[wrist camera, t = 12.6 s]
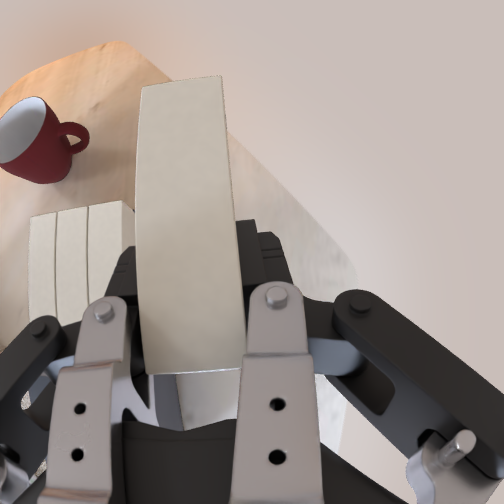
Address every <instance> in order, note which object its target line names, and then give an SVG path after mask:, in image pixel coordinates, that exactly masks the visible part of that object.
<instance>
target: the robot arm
mask: <svg viewBox="0 0 504 504" xmlns="http://www.w3.org/2000/svg"><path fill="white" fill-rule="evenodd" d="M235 222H236V232H237V242H238V252H239V262H240V271H241V281H242V290H243V299H244V309H245V318H246V327H247V346H246V354H243V357H242V365H241V377H240V389H239V400H238V412H237V419H227V420H223V421H220V422H216V423H213V424H209V425H206V426H202V427H198V428H194V429H191V430H187V431H175V430H171V429H166V428H162V427H159V424H158V421H157V418H156V411H155V396H154V378H153V375H148V374H146V371H145V363H144V355H143V346H142V337H141V327H140V316H139V304H138V289H137V272H136V245H135V246H129V247H128V248H127V249H126V250H125V251H124V252H123V253H122V254H121V255H120V257H119V259H118V261H117V264H116V265H117V266H115V269H114V271H113V274H112V276H111V279H110V281H109V284H108V286H107V289H106V292H105V294H104V297H103V298H100V299H98V300H96V301H94V302H93V303H91V304H90V305H89V306H88V307H87V308H86V310H85V311H84V314H83V317H82V320H81V321H78V322H75V323H71V324H68V325H65V326H61V324H60V323H59V321H58V319H57V318H56V317H54V316H52V315H44V316H40V317H38V318H36V319H34V320H33V321H32V322H30V323H29V324H28V325H27V326H26V327H25V328H24V329H23V331H22V332H21V333H20V334H19V335H18V336H17V337H16V338H15V339H14V340H13V341H12V342H11V343H10V344H9V345H8V347H7V348H6V349H5V350H4V351H3V352H2V353H1V354H0V504H408V503H407V502H405V501H403V500H402V499H400V498H399V497H397V496H396V495H394V494H393V493H391V492H389V491H388V490H387V489H385V488H384V487H382V486H381V485H379V484H378V483H376V482H375V481H373V480H372V479H370V478H369V477H367V476H366V475H364V474H363V473H362V472H360V471H359V470H357V469H356V468H355V467H353V466H352V465H350V464H349V463H348V462H346V461H345V460H344V459H342V458H341V457H340V456H338V455H337V454H336V453H334V452H333V451H332V450H330V449H329V448H328V447H326V446H325V445H324V444H322V443H321V442H320V436H319V422H318V409H317V397H316V386H315V375H314V373H316V374H324V375H325V377H326V378H327V380H328V381H329V382H330V383H331V384H332V385H333V386H334V387H335V388H336V389H337V390H338V391H339V392H340V393H341V394H342V395H343V396H344V397H345V398H346V399H347V400H348V401H349V402H350V403H351V404H352V405H353V406H354V407H355V408H356V409H357V410H358V411H359V412H360V413H361V414H362V415H363V416H364V417H365V418H367V420H368V421H369V422H370V423H371V424H372V425H373V426H375V427H376V428H377V429H378V430H379V431H380V432H381V433H382V434H383V435H384V436H385V437H386V438H387V439H388V440H389V441H390V442H391V443H392V444H393V445H394V446H395V447H396V448H397V449H398V450H399V451H400V452H401V453H403V454H404V455H405V456H406V457H407V458H408V459H409V460H408V463H407V466H406V478H407V481H408V483H409V484H410V486H411V487H412V488H413V490H414V491H415V494H416V497H417V504H485V503H486V502H487V501H488V499H489V498H490V496H491V495H492V494H493V492H494V491H495V489H496V488H497V486H498V485H499V483H500V482H501V481H502V480H503V479H504V394H503V393H501V392H500V391H499V390H498V389H497V388H495V387H494V386H493V385H492V384H490V383H489V382H488V381H487V380H486V379H484V378H483V377H482V376H481V375H479V374H478V373H477V372H476V371H474V370H473V369H472V368H471V367H469V366H468V365H467V364H466V363H464V362H463V361H462V360H461V359H459V358H458V357H457V356H455V355H454V354H453V353H452V352H450V351H449V350H448V349H447V348H445V347H444V346H442V345H441V344H440V343H439V342H437V341H436V340H435V339H434V338H432V337H431V336H430V335H428V334H427V333H426V332H425V331H423V330H422V329H420V328H419V327H418V326H417V325H415V324H414V323H413V322H411V321H410V320H409V319H407V318H406V317H404V316H403V315H402V314H401V313H399V312H398V311H397V310H395V309H394V308H392V307H391V306H390V305H389V304H387V303H386V302H385V301H383V300H382V299H381V298H379V297H378V296H376V295H375V294H373V293H371V292H368V291H364V290H358V289H356V290H348V291H345V292H343V293H341V294H340V295H338V296H337V297H336V299H335V301H334V303H332V302H322V301H315V300H312V299H309V298H306V297H305V296H303V295H302V293H301V291H300V290H299V289H298V288H297V287H296V286H294V284H293V281H292V278H291V275H290V271H289V268H288V265H287V262H286V259H285V256H284V252H283V249H282V246H281V243H280V240H279V238H278V237H277V236H275V235H274V234H273V233H272V232H261V233H257V228H256V224H255V220H254V219H251V220H241V221H235ZM43 372H44V373H45V374H46V375H47V377H48V378H49V379H50V380H51V381H50V382H49V383H48V385H47V386H46V387H45V388H44V389H43V391H42V392H41V393H40V394H39V396H38V397H37V398H36V399H35V401H34V402H33V403H32V405H31V406H30V407H29V408H28V409H25V410H22V408H21V400H22V398H23V396H24V395H25V393H26V392H27V391H28V390H29V389H30V387H31V386H32V385H33V384H34V382H35V381H36V380H37V379H38V378H39V376H40V375H41V374H42V373H43ZM46 456H47V469H46V470H45V471H44V472H43V473H42V474H41V475H40V476H39V477H38V478H37V479H36V480H35V481H34V482H33V483H32V484H30V483H29V481H30V479H31V478H32V476H33V475H34V473H35V472H36V471H37V469H38V468H39V466H40V465H41V463H42V462H43V460H44V459H45V458H46Z"/></svg>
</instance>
